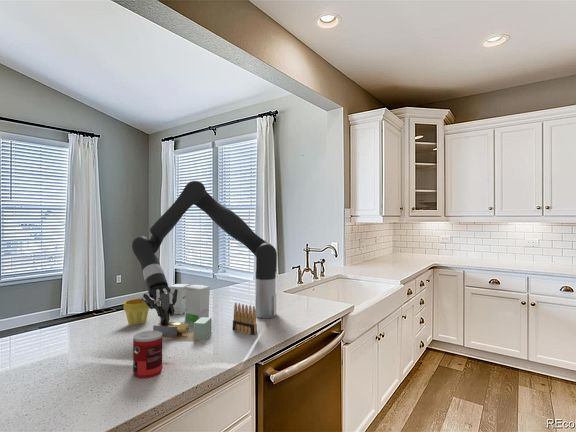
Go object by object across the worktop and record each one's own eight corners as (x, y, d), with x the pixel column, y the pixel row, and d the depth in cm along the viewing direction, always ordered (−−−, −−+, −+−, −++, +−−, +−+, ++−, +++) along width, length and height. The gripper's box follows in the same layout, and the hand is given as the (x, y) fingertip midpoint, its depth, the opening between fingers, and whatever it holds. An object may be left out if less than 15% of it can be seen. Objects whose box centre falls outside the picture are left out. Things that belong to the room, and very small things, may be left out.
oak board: (212, 335, 129) (212, 332, 129) (202, 345, 119) (202, 341, 119) (163, 332, 132) (163, 329, 132) (149, 342, 122) (149, 338, 122)
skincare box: (184, 323, 144) (184, 286, 144) (194, 319, 149) (195, 283, 149) (199, 326, 140) (200, 288, 140) (210, 321, 146) (210, 285, 146)
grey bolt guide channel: (182, 332, 128) (182, 322, 128) (176, 337, 123) (176, 326, 123) (160, 331, 130) (160, 321, 130) (153, 336, 124) (153, 325, 124)
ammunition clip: (257, 337, 128) (257, 305, 128) (254, 338, 126) (254, 306, 126) (235, 331, 133) (235, 301, 133) (232, 333, 132) (232, 302, 132)
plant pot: (117, 325, 140) (118, 302, 140) (139, 319, 149) (139, 296, 149) (134, 329, 135) (134, 305, 135) (155, 322, 144) (155, 299, 144)
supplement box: (182, 314, 156) (182, 287, 156) (167, 313, 158) (167, 286, 158) (189, 310, 163) (189, 284, 163) (175, 309, 165) (176, 283, 165)
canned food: (138, 366, 102) (138, 330, 102) (165, 366, 103) (165, 330, 103) (128, 379, 94) (128, 340, 94) (158, 378, 95) (158, 339, 95)
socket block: (211, 333, 128) (211, 317, 128) (204, 340, 121) (204, 323, 121) (201, 332, 128) (201, 317, 128) (193, 339, 121) (193, 323, 121)
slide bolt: (189, 331, 127) (189, 293, 127) (185, 334, 124) (185, 295, 124) (161, 330, 128) (162, 292, 128) (157, 333, 125) (157, 294, 125)
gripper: (138, 274, 127) (150, 313, 118) (174, 270, 137) (188, 306, 128) (134, 286, 131) (145, 325, 122) (169, 281, 141) (182, 317, 132)
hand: (167, 315), depth 125 cm, fingers closed on slide bolt, 3 cm apart
